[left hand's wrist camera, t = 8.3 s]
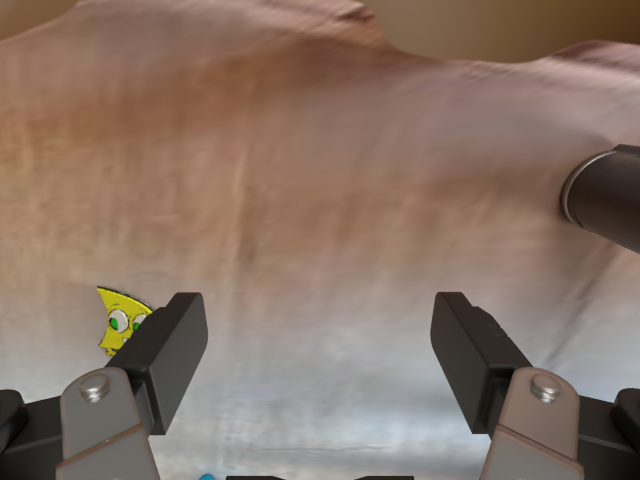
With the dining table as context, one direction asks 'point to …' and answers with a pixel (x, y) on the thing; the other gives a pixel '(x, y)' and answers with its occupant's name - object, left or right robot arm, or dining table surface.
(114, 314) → the toy
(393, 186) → the dining table surface
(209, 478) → the toy
